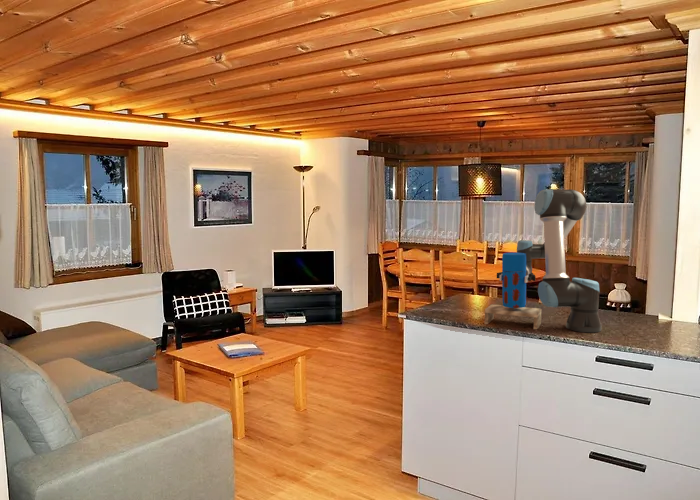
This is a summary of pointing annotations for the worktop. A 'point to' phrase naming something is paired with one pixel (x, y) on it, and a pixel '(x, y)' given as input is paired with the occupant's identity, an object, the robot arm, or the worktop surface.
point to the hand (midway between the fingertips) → (512, 279)
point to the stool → (513, 313)
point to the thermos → (514, 280)
